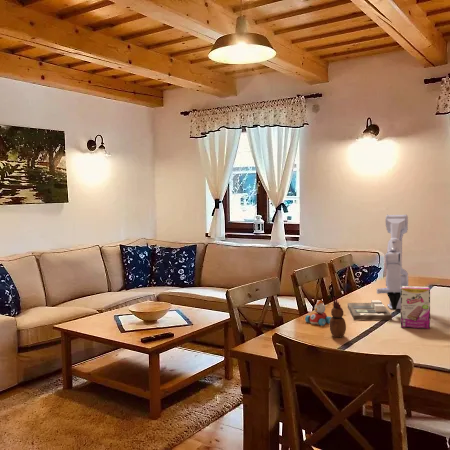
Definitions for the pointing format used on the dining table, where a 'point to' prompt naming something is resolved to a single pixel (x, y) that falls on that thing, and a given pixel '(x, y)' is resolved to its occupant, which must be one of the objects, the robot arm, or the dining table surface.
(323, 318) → the toy car
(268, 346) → the dining table surface
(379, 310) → the tab
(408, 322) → the candy bar box
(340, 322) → the wooden figurine
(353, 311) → the switch panel
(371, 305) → the tab
